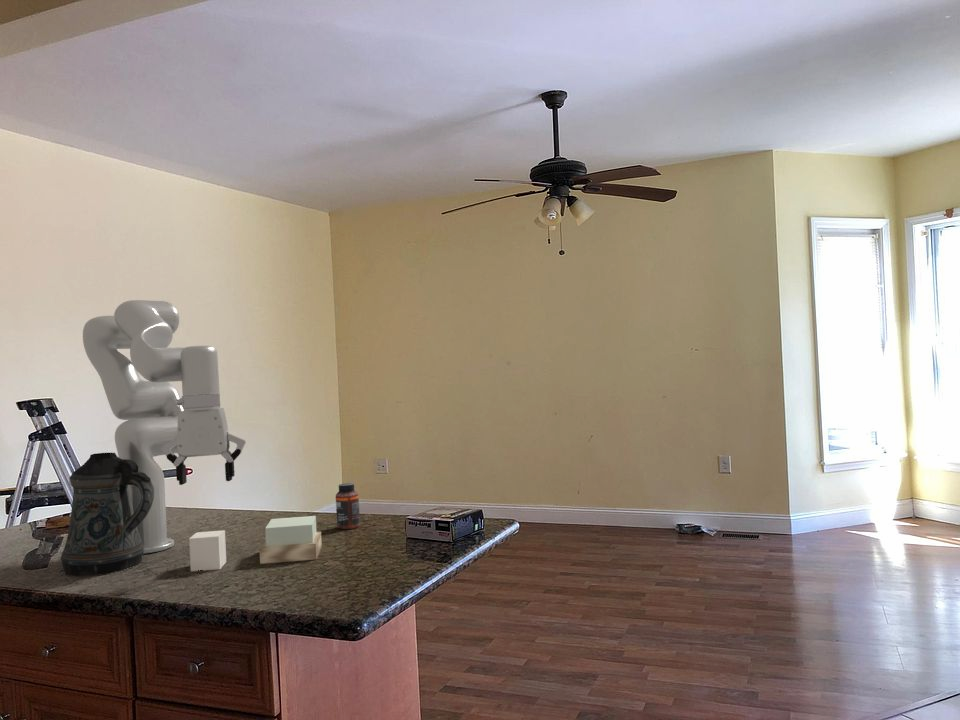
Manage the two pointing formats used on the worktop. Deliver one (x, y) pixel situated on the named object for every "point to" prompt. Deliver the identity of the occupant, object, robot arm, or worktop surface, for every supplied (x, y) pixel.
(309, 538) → the top block
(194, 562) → the pillar block
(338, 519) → the supplement bottle
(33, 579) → the worktop surface
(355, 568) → the worktop surface
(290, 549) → the bottom block
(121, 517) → the beer stein
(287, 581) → the worktop surface
